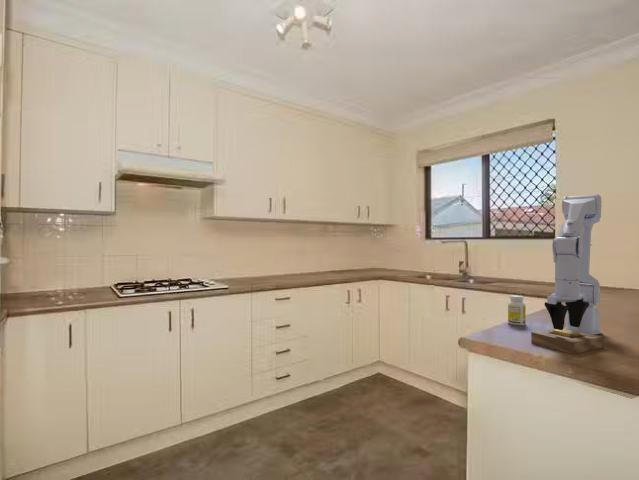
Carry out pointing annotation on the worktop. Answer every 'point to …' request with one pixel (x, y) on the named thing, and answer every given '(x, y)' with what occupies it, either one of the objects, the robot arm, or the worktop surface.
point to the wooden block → (567, 333)
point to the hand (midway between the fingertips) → (566, 327)
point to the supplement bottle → (516, 310)
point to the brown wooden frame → (567, 341)
